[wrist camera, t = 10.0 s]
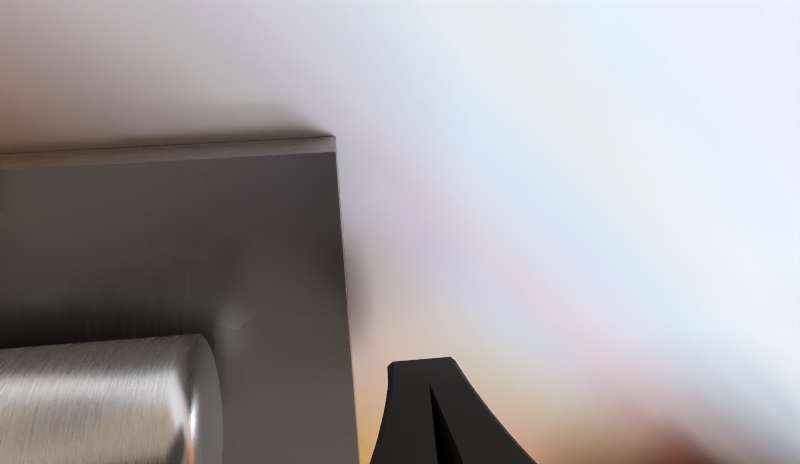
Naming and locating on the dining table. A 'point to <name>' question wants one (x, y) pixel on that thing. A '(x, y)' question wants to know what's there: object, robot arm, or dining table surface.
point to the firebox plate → (196, 275)
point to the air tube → (111, 403)
